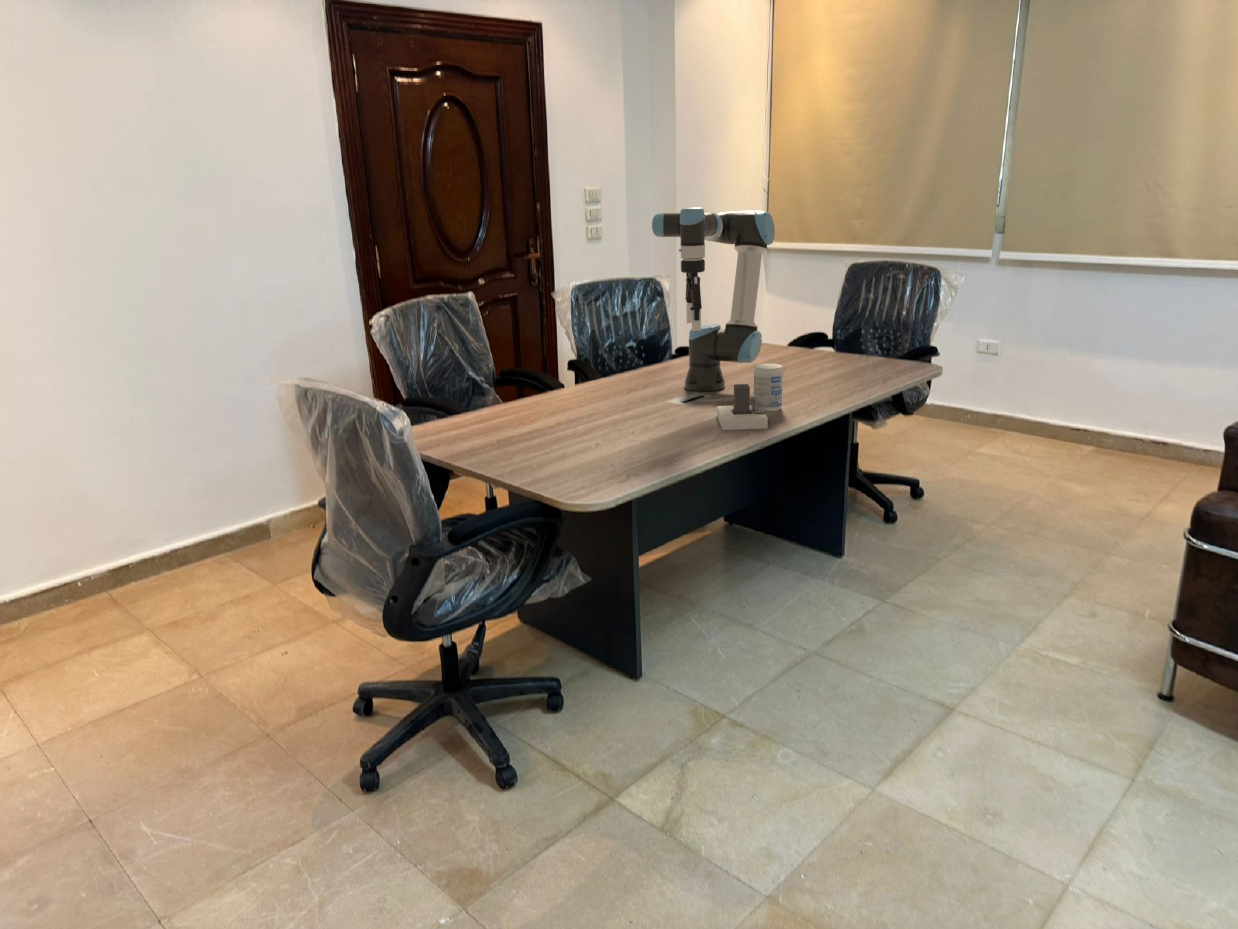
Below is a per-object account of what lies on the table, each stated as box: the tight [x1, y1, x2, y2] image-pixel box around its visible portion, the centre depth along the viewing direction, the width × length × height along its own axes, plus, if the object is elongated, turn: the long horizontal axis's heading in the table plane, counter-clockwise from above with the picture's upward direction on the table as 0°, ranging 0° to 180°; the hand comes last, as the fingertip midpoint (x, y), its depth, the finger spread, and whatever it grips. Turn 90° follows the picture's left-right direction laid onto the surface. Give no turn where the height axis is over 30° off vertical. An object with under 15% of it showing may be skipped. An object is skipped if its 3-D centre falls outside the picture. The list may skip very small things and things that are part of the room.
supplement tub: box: [752, 363, 784, 411], centre depth 273 cm, size 10×10×15 cm
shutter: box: [751, 396, 778, 414], centre depth 259 cm, size 7×7×4 cm
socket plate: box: [716, 404, 769, 431], centre depth 260 cm, size 16×14×4 cm
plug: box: [733, 383, 751, 415], centre depth 259 cm, size 4×4×12 cm
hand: (693, 326), depth 262 cm, fingers open, 13 cm apart
